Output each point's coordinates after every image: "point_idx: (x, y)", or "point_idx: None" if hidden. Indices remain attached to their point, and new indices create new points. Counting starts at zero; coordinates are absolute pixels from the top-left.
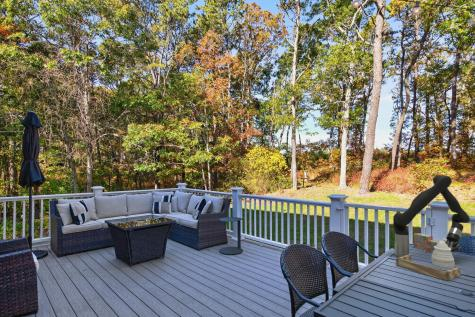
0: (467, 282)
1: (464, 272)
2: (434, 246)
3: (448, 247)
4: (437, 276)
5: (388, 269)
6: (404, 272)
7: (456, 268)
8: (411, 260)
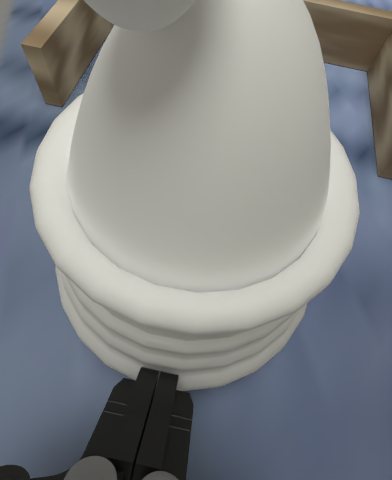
0: (19, 34)
1: (10, 184)
2: (336, 145)
3: (75, 127)
4: None
5: None
6: None
7: (50, 19)
8: (386, 166)
